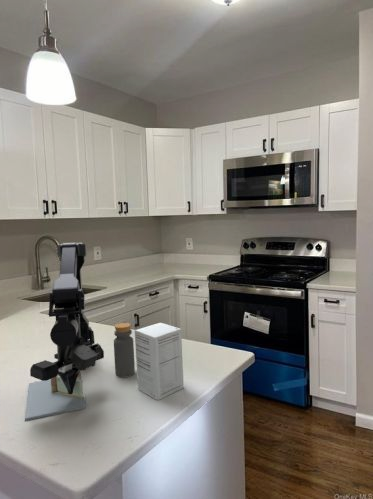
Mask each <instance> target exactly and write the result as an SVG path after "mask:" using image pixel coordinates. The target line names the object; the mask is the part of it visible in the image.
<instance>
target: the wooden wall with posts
mask: <svg viewBox="0 0 373 499" xmlns="http://www.w3.org/2000/svg"><path fill="white" fill-rule="evenodd" d="M57 376H59V375H58V374H57ZM57 376H56V377H54V378H52V379H51V391H52V392H57V391H58V390H57ZM80 376H81V377H80ZM78 377H80V379H81V380H82V370H81V371H80V372H79V374H78ZM78 377H77V378H78Z"/></svg>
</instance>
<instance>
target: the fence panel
mask: <svg viewBox="0 0 373 499" xmlns="http://www.w3.org/2000/svg"><path fill="white" fill-rule="evenodd" d="M83 388H84V387H83V380H82V379H81V380H79V379H76V383H75V386H74V389H73V394H72V395H76V396H79V397H81V396H82V395H83V394H84V389H83ZM57 390H58V391H60V392H64V393H68V391H67V388H66V386H65V385H64V383H63V381H62V379H61V378H60V376H57Z"/></svg>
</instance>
